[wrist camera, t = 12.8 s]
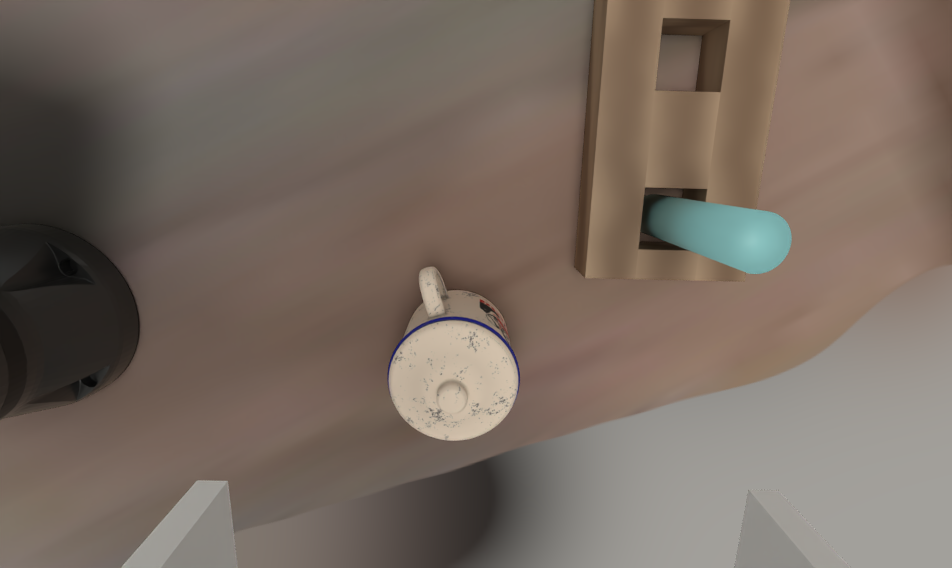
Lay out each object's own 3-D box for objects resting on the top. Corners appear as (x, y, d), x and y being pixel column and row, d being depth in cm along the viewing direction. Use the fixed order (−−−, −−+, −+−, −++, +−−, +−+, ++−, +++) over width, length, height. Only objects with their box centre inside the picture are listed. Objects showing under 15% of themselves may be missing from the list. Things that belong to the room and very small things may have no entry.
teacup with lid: (522, 371, 42) (540, 446, 31) (422, 397, 43) (404, 480, 31) (485, 240, 39) (490, 270, 28) (379, 269, 40) (342, 311, 29)
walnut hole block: (574, 267, 40) (585, 278, 36) (594, -2, 35) (609, -23, 31) (718, 270, 40) (744, 281, 36) (757, 3, 35) (792, -17, 31)
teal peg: (630, 233, 39) (723, 273, 25) (634, 193, 39) (732, 210, 24) (669, 234, 39) (785, 274, 25) (673, 194, 39) (796, 212, 24)
